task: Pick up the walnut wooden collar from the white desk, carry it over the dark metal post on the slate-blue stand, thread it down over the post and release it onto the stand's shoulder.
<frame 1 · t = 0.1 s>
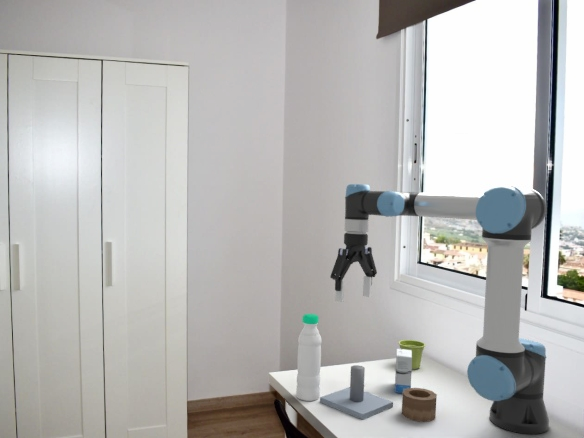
hand: (353, 298, 176), 28 cm above the table, fingers open, 13 cm apart
ink box: (402, 389, 175), on the table
collar: (418, 414, 155), on the table
water bottle: (307, 397, 165), on the table
stand: (356, 404, 161), on the table
plant pot: (410, 367, 198), on the table
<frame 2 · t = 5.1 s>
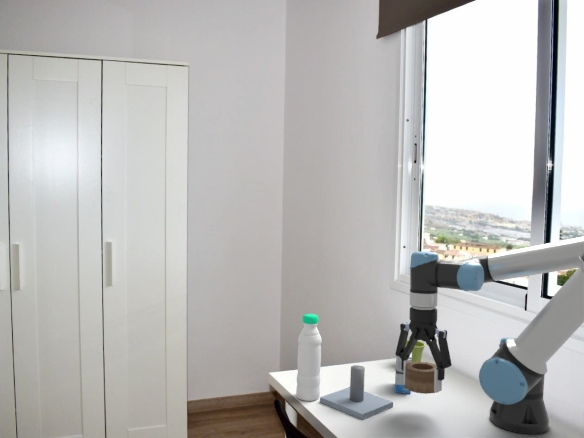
hand: (422, 386, 154), 8 cm above the table, fingers closed on collar, 9 cm apart
collar: (422, 387, 154), point 8 cm above the table, touching gripper
everything else where it was.
when the fingers open (4 cm above the table, at t = 9.8 s): collar drops 2 cm, resting on stand.
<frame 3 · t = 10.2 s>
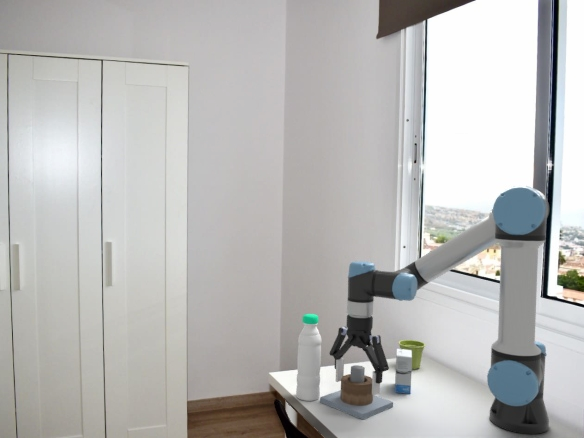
hand: (357, 387, 160), 5 cm above the table, fingers open, 13 cm apart
collar: (356, 399, 161), point 1 cm above the table, touching stand
everything else where it was.
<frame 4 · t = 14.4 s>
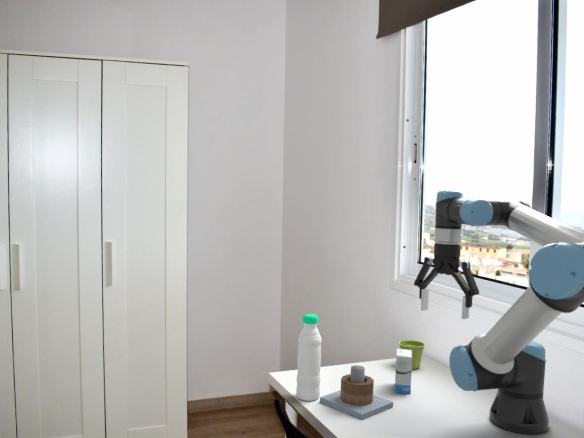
hand: (444, 314, 163), 27 cm above the table, fingers open, 13 cm apart
nothing on the table moved.
at the end: collar 0.0 cm off-centre on the stand, point 1.5 cm above the stand's base; the gripper is holding nothing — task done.
